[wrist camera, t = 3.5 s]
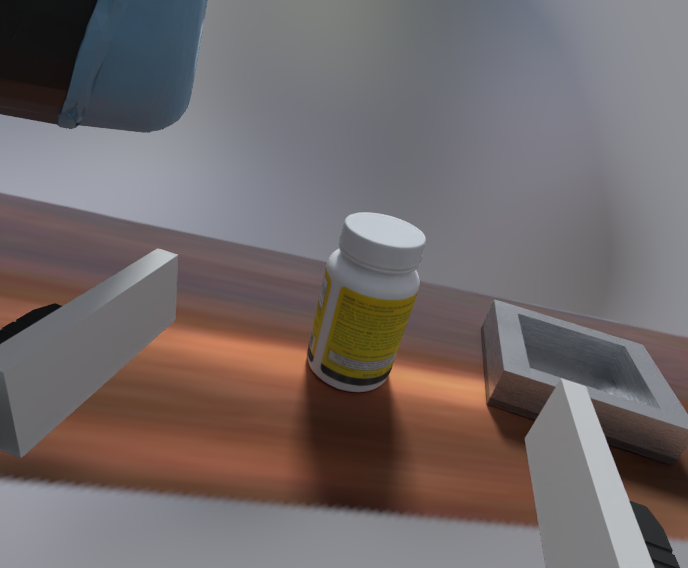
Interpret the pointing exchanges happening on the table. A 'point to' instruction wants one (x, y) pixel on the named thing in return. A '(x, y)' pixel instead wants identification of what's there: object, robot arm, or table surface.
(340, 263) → the supplement bottle
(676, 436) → the rectangular metal tray
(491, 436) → the table surface
